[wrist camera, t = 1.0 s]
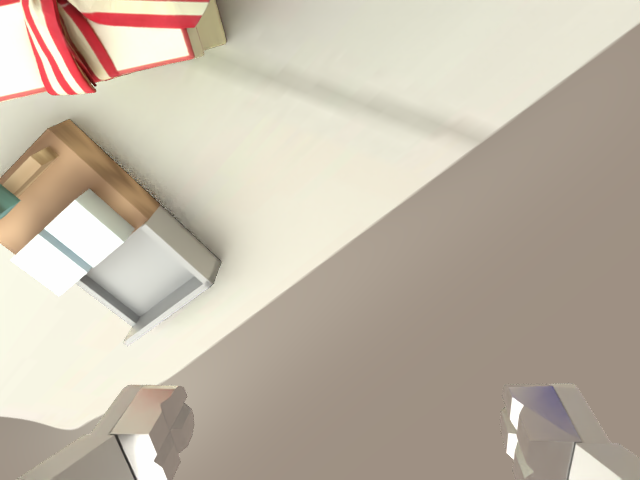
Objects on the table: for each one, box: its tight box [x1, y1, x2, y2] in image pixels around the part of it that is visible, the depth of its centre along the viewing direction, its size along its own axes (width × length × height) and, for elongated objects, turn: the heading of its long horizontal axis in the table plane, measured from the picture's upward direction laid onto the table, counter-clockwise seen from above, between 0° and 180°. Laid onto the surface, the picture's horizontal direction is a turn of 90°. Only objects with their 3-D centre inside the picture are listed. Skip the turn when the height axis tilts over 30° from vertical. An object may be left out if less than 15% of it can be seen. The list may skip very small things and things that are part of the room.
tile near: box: [44, 189, 135, 268], centre depth 44 cm, size 6×5×3 cm
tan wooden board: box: [0, 119, 160, 255], centre depth 46 cm, size 12×15×4 cm
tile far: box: [10, 229, 92, 296], centre depth 45 cm, size 6×5×3 cm
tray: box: [75, 205, 221, 346], centre depth 50 cm, size 10×15×5 cm, turn 128°
